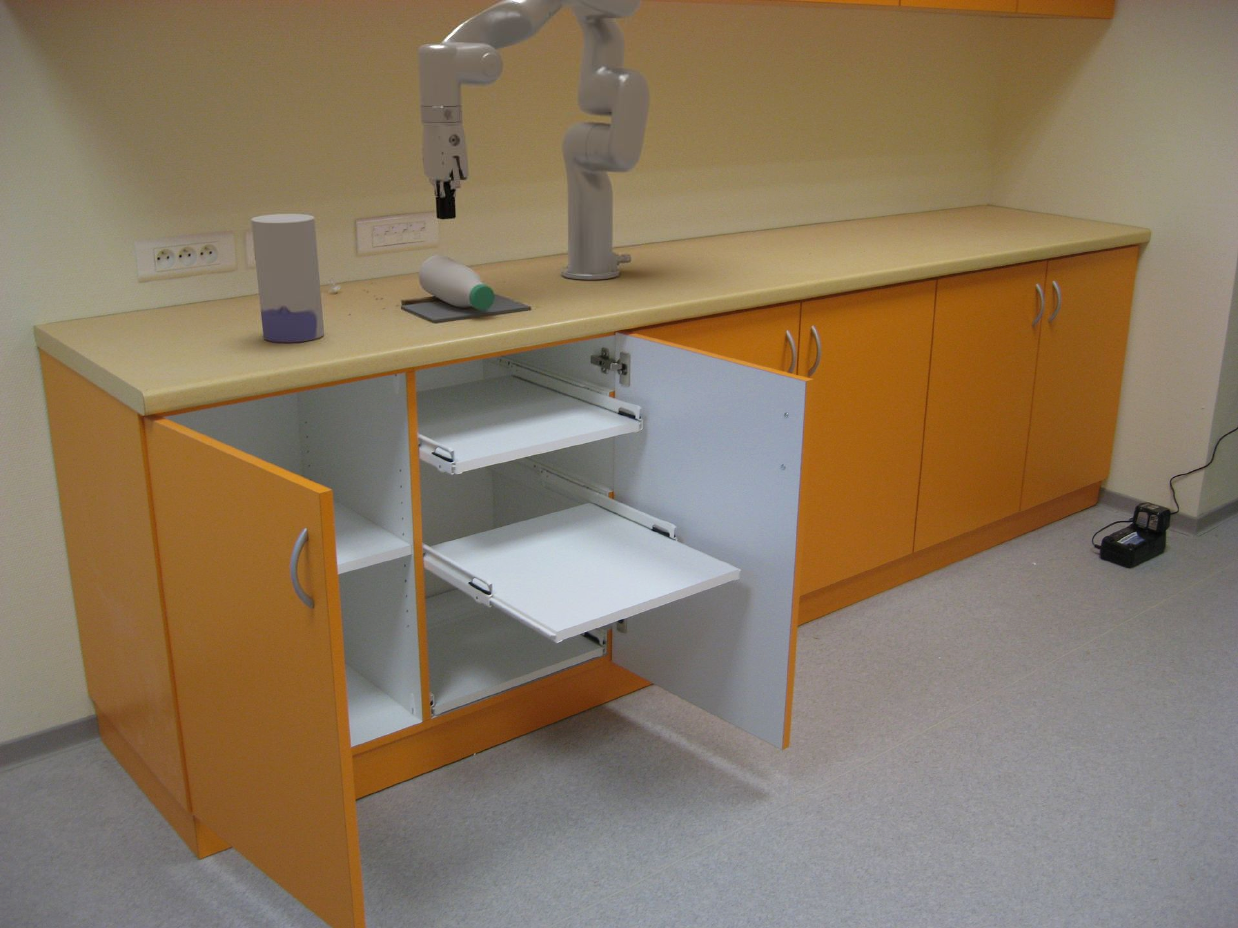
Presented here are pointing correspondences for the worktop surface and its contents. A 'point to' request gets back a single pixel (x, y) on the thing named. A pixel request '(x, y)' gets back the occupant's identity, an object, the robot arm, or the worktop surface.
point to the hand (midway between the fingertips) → (446, 218)
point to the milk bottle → (454, 283)
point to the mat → (462, 310)
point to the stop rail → (420, 300)
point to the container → (288, 277)
